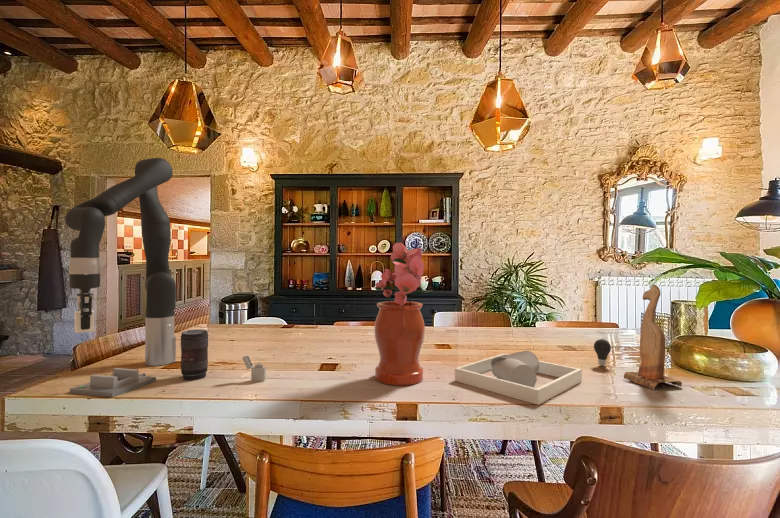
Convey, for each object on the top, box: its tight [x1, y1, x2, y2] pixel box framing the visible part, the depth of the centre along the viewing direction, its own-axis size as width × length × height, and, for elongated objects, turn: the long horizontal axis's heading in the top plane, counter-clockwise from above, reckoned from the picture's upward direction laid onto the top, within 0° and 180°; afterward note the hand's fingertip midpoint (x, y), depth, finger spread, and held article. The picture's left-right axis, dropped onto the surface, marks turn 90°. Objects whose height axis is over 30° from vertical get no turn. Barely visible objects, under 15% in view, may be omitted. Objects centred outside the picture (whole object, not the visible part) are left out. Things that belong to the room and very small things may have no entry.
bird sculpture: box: [623, 284, 683, 390], centre depth 124 cm, size 11×12×32 cm
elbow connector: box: [491, 350, 540, 388], centre depth 125 cm, size 18×10×20 cm
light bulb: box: [593, 338, 612, 367], centre depth 144 cm, size 6×6×10 cm
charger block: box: [74, 309, 95, 334], centre depth 119 cm, size 4×4×6 cm
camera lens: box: [180, 329, 209, 381], centre depth 126 cm, size 8×8×15 cm
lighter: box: [242, 354, 267, 383], centre depth 123 cm, size 7×2×8 cm, turn 86°
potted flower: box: [373, 242, 434, 387], centre depth 128 cm, size 19×25×45 cm
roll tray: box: [454, 353, 583, 406], centre depth 125 cm, size 30×28×4 cm
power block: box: [69, 367, 157, 398], centre depth 118 cm, size 18×15×4 cm
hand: (84, 327), depth 119 cm, fingers closed on charger block, 4 cm apart
